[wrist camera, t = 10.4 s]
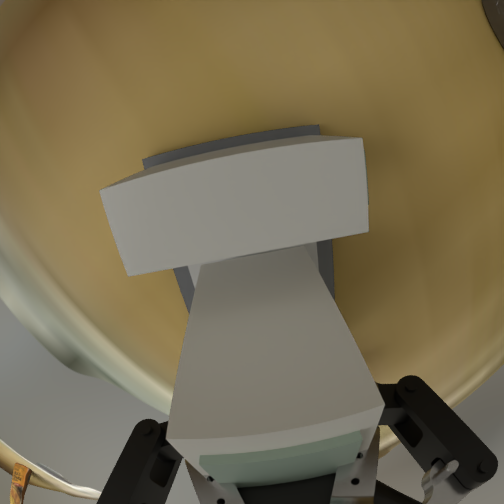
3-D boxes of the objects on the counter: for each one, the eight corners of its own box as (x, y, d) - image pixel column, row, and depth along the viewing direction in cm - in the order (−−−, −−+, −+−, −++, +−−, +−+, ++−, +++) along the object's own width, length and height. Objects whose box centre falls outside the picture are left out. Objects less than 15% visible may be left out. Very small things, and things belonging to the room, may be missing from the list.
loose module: (304, 245, 13) (389, 414, 5) (313, 369, 17) (348, 496, 8) (201, 264, 13) (164, 449, 5) (239, 382, 17) (244, 513, 8)
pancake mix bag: (39, 474, 48) (25, 527, 22) (24, 469, 51) (11, 515, 25) (25, 465, 45) (9, 518, 20) (12, 461, 48) (-3, 507, 23)
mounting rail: (315, 124, 13) (377, 120, 7) (331, 380, 21) (352, 446, 15) (147, 157, 14) (82, 180, 7) (228, 399, 22) (228, 468, 15)
